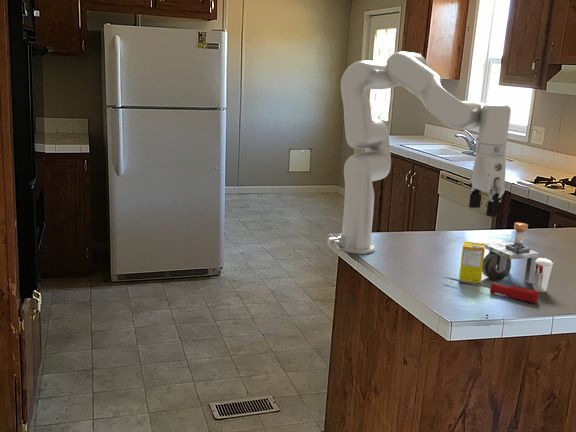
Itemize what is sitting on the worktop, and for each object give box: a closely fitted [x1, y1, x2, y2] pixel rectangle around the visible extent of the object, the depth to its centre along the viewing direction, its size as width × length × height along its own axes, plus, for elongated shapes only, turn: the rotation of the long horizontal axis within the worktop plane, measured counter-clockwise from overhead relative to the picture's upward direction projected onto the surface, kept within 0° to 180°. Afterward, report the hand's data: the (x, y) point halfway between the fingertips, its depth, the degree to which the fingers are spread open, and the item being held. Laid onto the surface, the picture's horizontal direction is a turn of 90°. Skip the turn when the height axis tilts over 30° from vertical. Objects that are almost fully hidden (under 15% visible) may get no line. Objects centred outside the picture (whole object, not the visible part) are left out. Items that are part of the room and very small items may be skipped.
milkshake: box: [532, 257, 556, 293], centre depth 166 cm, size 4×5×10 cm
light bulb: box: [513, 222, 529, 249], centre depth 171 cm, size 4×4×7 cm
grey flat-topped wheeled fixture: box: [481, 241, 539, 285], centre depth 174 cm, size 13×12×10 cm
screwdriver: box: [443, 276, 540, 304], centre depth 163 cm, size 4×25×4 cm, turn 59°
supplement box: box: [458, 240, 486, 285], centre depth 170 cm, size 6×6×11 cm
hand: (482, 211), depth 167 cm, fingers open, 9 cm apart
